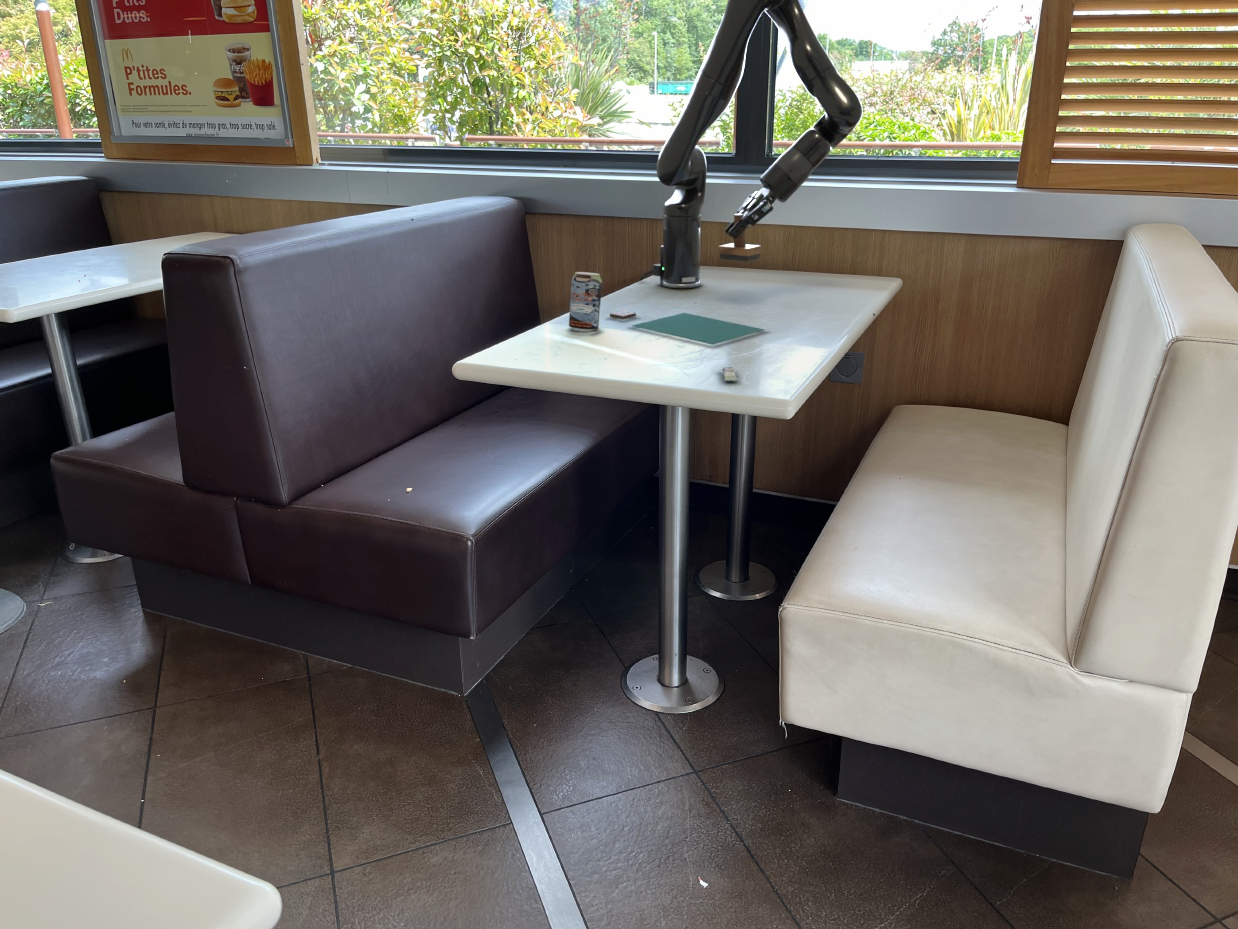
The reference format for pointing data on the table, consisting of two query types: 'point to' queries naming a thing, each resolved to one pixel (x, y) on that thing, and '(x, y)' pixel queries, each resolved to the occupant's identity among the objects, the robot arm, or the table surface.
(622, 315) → the brown square block
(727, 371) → the granola bar
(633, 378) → the table surface
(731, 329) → the mat
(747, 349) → the table surface
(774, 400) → the table surface
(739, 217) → the brush
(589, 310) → the beverage can
